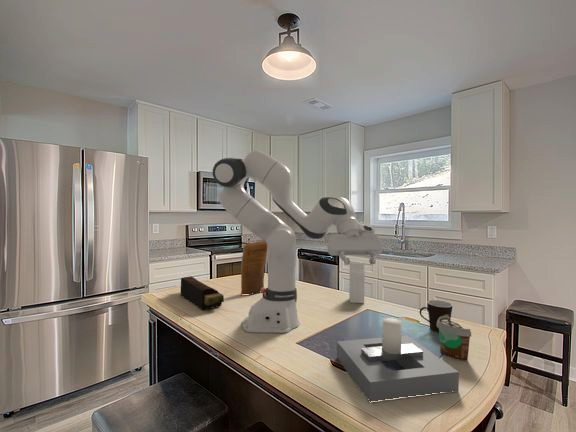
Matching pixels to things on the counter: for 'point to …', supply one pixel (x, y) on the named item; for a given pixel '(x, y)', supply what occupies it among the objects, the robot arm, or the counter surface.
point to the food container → (453, 339)
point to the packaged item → (200, 294)
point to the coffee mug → (437, 312)
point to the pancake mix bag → (253, 267)
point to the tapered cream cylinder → (391, 335)
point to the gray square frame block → (396, 372)
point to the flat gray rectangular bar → (379, 355)
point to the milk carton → (357, 283)
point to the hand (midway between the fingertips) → (360, 263)
